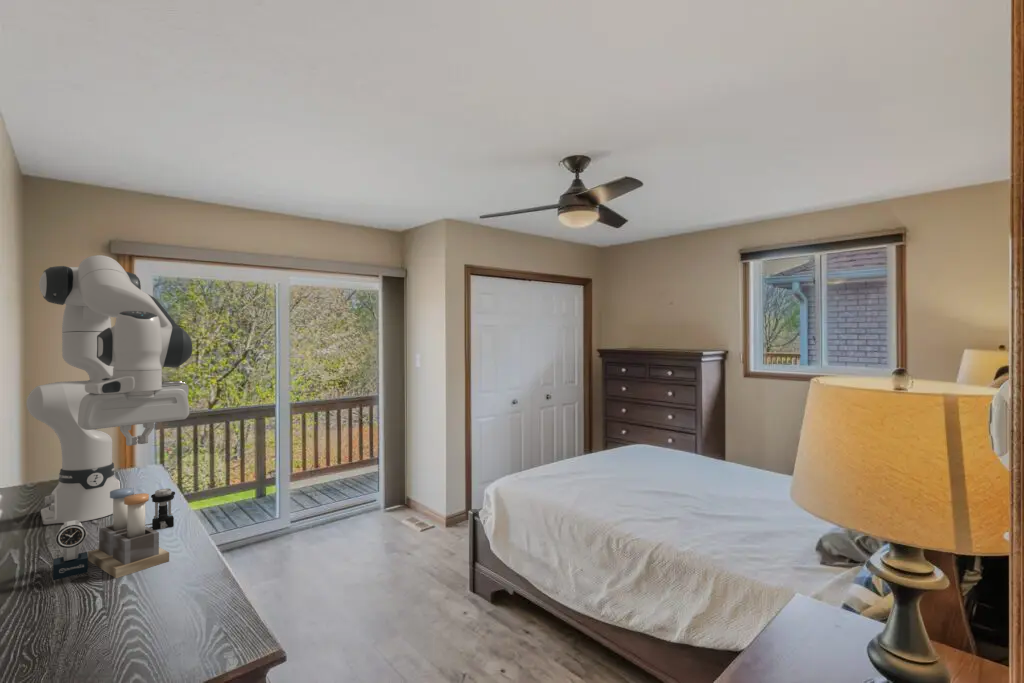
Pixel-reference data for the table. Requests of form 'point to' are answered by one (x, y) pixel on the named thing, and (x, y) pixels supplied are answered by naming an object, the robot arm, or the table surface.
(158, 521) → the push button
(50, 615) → the table surface
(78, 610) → the table surface
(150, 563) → the mount
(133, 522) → the knob
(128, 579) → the table surface
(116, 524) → the knob
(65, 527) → the watch
